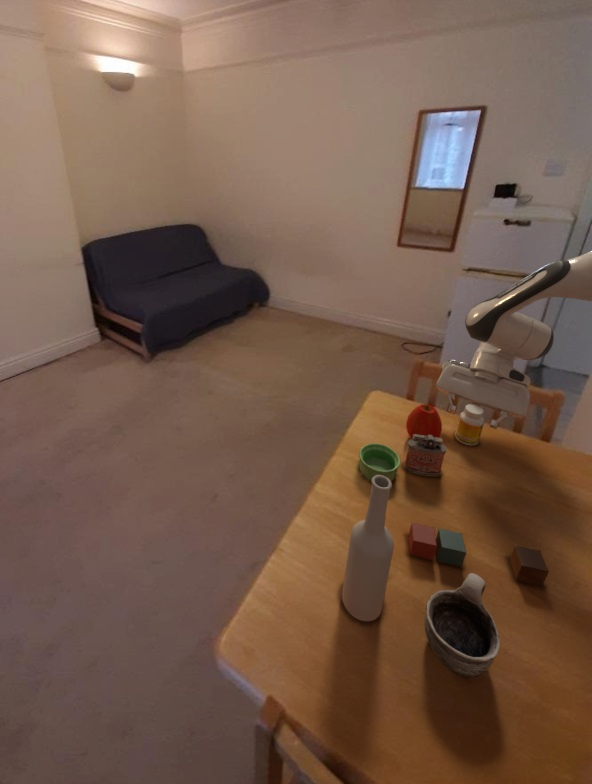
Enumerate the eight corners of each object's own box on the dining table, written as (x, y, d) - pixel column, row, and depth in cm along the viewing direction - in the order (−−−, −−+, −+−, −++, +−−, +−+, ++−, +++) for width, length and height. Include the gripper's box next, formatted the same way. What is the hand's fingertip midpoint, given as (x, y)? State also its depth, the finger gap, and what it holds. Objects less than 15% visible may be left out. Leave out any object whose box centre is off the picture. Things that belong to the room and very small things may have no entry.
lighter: (439, 467, 95) (447, 434, 91) (441, 478, 92) (450, 444, 88) (402, 461, 97) (408, 429, 93) (404, 472, 94) (410, 438, 90)
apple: (414, 424, 109) (420, 391, 105) (444, 440, 103) (452, 406, 99) (397, 438, 105) (403, 404, 100) (429, 455, 99) (436, 420, 94)
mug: (413, 660, 61) (424, 621, 57) (427, 587, 71) (437, 550, 67) (487, 702, 57) (505, 664, 52) (491, 618, 66) (506, 580, 62)
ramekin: (356, 481, 92) (358, 467, 91) (357, 453, 100) (359, 440, 98) (398, 489, 90) (401, 475, 88) (396, 460, 98) (398, 446, 96)
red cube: (430, 541, 79) (434, 527, 77) (433, 560, 75) (437, 545, 74) (408, 536, 80) (411, 522, 78) (410, 554, 76) (413, 540, 75)
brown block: (534, 564, 74) (540, 550, 72) (542, 586, 70) (549, 571, 69) (509, 558, 75) (514, 544, 73) (515, 579, 71) (521, 565, 70)
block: (457, 547, 77) (461, 533, 76) (461, 566, 74) (466, 552, 72) (434, 542, 78) (438, 528, 77) (437, 561, 75) (441, 547, 73)
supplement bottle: (454, 429, 107) (461, 400, 103) (477, 434, 105) (485, 404, 101) (455, 443, 102) (463, 412, 98) (479, 448, 100) (488, 417, 96)
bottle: (377, 629, 65) (402, 508, 53) (337, 608, 68) (352, 489, 56) (385, 592, 70) (409, 473, 58) (347, 574, 73) (363, 458, 61)
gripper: (445, 353, 107) (426, 401, 105) (538, 380, 95) (519, 434, 93) (447, 361, 112) (429, 406, 110) (535, 387, 100) (518, 439, 97)
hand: (471, 419), depth 101 cm, fingers open, 8 cm apart
